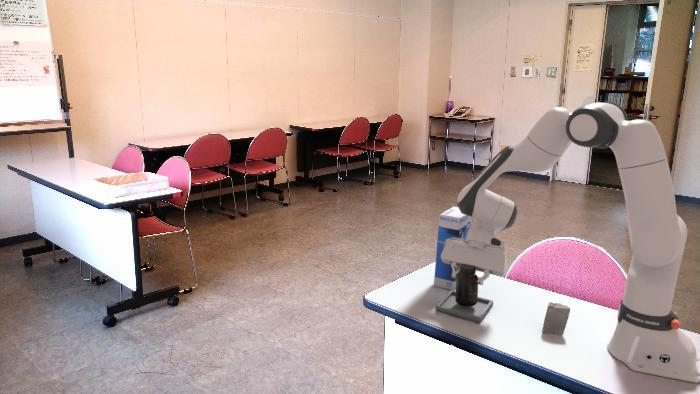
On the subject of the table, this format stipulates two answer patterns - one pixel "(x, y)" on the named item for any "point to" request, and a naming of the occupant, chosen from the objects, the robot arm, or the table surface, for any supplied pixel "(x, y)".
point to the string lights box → (449, 226)
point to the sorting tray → (464, 308)
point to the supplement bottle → (466, 286)
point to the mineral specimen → (556, 319)
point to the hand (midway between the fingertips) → (466, 280)
